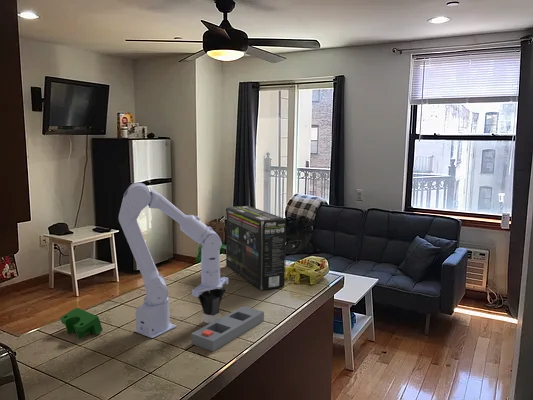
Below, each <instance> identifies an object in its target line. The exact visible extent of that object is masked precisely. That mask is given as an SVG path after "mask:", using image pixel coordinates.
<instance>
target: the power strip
mask: <svg viewBox="0 0 533 400" xmlns="http://www.w3.org/2000/svg"><path fill="white" fill-rule="evenodd" d="M219 318H220V319H218V320H216V321H214V322H212V323H210V324H208V323H207V324H206V325H205V326H203V327H200V328H199V329H197V330H195V331H193V332H191V335H190V338H191V339H190V340H191V344H192V345H195V346H197V347H200V348H202V349H205V350H207V351H209V352H210V351H211V352H215V351H216V350H218V349H220V348H221V347H224V346H226V345H227V344H228V343H230V342H232V341H234V340H235V339H237V338H238V337H240V336H241V335H243V334H245V333H247V331H248V332H249V331H250V330H252V329H253V328H254V327H256V326H258V325H260V324H261V323H263V322H264V321H265V312H264V311H262V310H259V309H256V308H252V307H249V306H245V305H243V306H241V307H239V308H237V309H235V310H233V311H231V312H229V313H228V314H226V315H223V316H222V317H219Z"/></svg>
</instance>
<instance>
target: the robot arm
mask: <svg viewBox="0 0 533 400" xmlns="http://www.w3.org/2000/svg"><path fill="white" fill-rule="evenodd" d="M121 201H122V202H121V206H120V208H119V213H118V223H119V224H120V227H121V229H122V231H123V234H124V237H125V239H126V242H127V244H128V245H129V248H130V251H131V253H132V256H133V258H134V260H135V262H136V265H137V267H138V269H139V271H140V275H141V277H142V280H143V283H144V289H145V297H144V298H143V302H142V304H141V305H139V306H138V307H137V308H136V310H135V327H136V328H135V329H134V332H136V333H138V334H140V335H142V336H146V337H148V338H151V339H153V338H155V337H158V336H160V335H162V334H164V333H167V332H168V331H171V330H172V329H174V328H176V327H177V325H176V324H173V323H171V321H170V297H169V289H168V287H167V283H166V279H165V278H164V276H163V275H161V274H160V272H159V270H158V268H157V266H156V264H155V262H154V259H153V257H152V254H151V252H150V249H149V247H148V245H147V241H146V239H145V237H144V235H143V232H142V230H141V227H140V225H139V223H138V218H139V217H140V215H141V212H142V211H143V210H144V209H145V208H146V207H147V206H148V208H149V209H158V210H160V211H161V212H163V213H164V214H165V215H167V216H168V217H170V218H171V219H173V220H174V221H175V222H176V223H178V224H179V229H180V231H181V232H183V233H184V234H185V235H186V236H188V237H189V238H190V239H191V240H192V241H194V242H196V243H198V244H199V245H200V246H201V254H200V258H201V259H200V263H201V265H200V267H201V269H200V270H201V272H200V273H201V276H200V277H201V283H200V284H199V285H197V286H196V287H195V288H193V289H191V296H192V297H195V298H198V300H199V302H200V305H201V308H202V312H203V311H204V314H207V315H210V314H211V303H212V299H213V296H216V297H219V307H220V305H221V302H222V298H223V296H224V294H225V292H226V291H227V288H226V287H224V286H223V285H228V284H229V277H226V276H222V277H221V254H220V252H221V251H220V249H221V248H222V245H223V242H222V239H221V237H220V236H219V235H218V233H217V232H215V230H214V229H213V228H212V227H211V226H210V225H209V226H208V225H206V224H205V223H204V222H203V221H201V218H200V217H199V216H198V215H194V214H188V215H187V214H185V213H184V212H182V211H181V210H180V209H179V208H178V207H177V206H175V205H174V203H172V202H171V201H170V200H168V199H167V198H166V197H165V196H164V195H163V194H162V193H159V192H157V191H156V190H155V189H153V188H151V187H148V186H147V185H146V184H145V183H143V182H140V181H139V182H138V181H137V182H133V183H132V184H131V183H130V185H129V186H128V187H127V189H126V191H125V192H124V193H123V198H122V200H121Z"/></svg>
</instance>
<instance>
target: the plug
mask: <svg viewBox="0 0 533 400" xmlns="http://www.w3.org/2000/svg"><path fill="white" fill-rule="evenodd" d="M202 312H203V313H202V314H203V315H202V317H203V323H206V324H207V325H208V324H210V323H212V322H214V321H216V320H218V319H220V318H221V317H220V306H219V297H216V296H213V299H212V303H211V314H210V315H207V314H204V311H203V310H202Z"/></svg>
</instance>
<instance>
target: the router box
mask: <svg viewBox="0 0 533 400" xmlns="http://www.w3.org/2000/svg"><path fill="white" fill-rule="evenodd" d="M225 211H226V213H225V214H226V224H225V225H226V232H225V234H226V241H225V243H226V244H225V245H226V247H225V251H226V255H225V257H226V258H225V263H226V264H225V266H226V267H227V268H229V269H230V270H231V271H233V272H234V273H236V274H237V275H238V276H240V277H242V278H243V280H245V281H248V282H249V283H250V284H251V285H253V286H254V287H256V288H257V289H258V290H260V291H262V290H263V291H264V290H272V289H276V288H279V287H280V288H281V287H284V286H285V281H286V280H285V279H286V277H285V274H286V258H287V257H286V254H287V250H286V249H287V245H286V244H287V222H286V218H284V217H281V216H279V215H276V214H273V213H269V212H267V211H264V210H261V209H259V208H255V207H253V206H249V205H244V206H243V205H242V206H240V205H239V206H226V207H225Z"/></svg>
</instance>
